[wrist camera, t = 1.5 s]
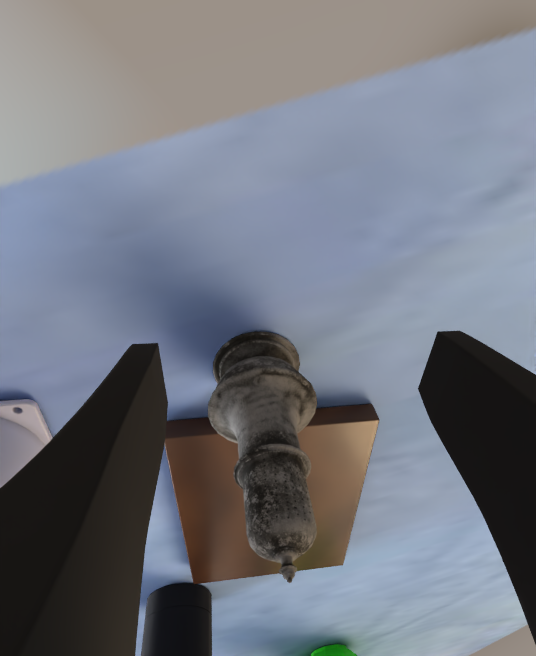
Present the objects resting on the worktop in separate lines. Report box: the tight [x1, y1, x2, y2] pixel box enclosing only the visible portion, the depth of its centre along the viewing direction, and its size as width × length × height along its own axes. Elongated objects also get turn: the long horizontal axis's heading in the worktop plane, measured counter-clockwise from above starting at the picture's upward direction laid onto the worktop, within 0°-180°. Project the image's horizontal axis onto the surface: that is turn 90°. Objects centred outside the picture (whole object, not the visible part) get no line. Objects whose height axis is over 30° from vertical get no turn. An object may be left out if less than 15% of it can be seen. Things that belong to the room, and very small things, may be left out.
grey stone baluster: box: [208, 332, 317, 583], centre depth 19 cm, size 6×6×12 cm
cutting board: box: [164, 404, 379, 584], centre depth 31 cm, size 14×20×2 cm
